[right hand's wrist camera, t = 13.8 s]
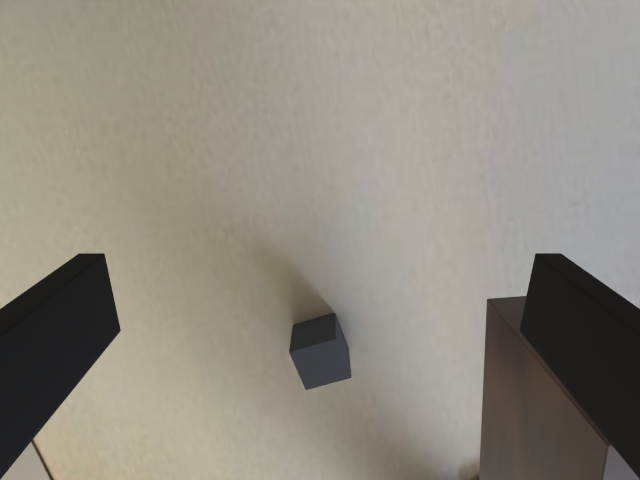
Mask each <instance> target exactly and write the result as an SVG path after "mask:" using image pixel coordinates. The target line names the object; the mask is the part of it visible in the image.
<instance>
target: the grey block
mask: <svg viewBox="0 0 640 480" xmlns="http://www.w3.org/2000/svg"><path fill="white" fill-rule="evenodd" d="M289 353H290V355H291V357H292V359H293V362H294V364H295V366H296V369H297V371H298V373H299V375H300V378H301V380H302V382H303V385H304V387H305V389H306V390H308V389H312V388H315V387H319V386H322V385H326V384H330V383H333V382H337V381H341V380H344V379H348V378H351V368H350V357H349V348H348V346H347V343H346V340H345V338H344V335H343V332H342V330H341V327H340V324H339V322H338V319H337V316H336V314H335V313H333V314H330V315H326V316H323V317H319V318H316V319H313V320H309V321H306V322H303V323H299V324H296V325H293V329H292V336H291V343H290V350H289Z"/></svg>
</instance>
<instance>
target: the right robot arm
mask: <svg viewBox="0 0 640 480" xmlns="http://www.w3.org/2000/svg"><path fill="white" fill-rule="evenodd" d="M120 331H121V330H120V325H119V321H118V316H117V311H116V306H115V302H114V297H113V292H112V287H111V283H110V278H109V273H108V268H107V264H106V259H105V254H78V255H76V256H75V257H74V258H72V259H71V260H69V261H68V262H66V263H65V264H64V265H62V266H61V267H59V268H58V269H57V270H55V271H54V272H52V273H51V274H49V275H48V276H47V277H45V278H44V279H42V280H41V281H39V282H38V283H37V284H35V285H34V286H32V287H31V288H30V289H28V290H27V291H25V292H24V293H22V294H21V295H20V296H18V297H17V298H15V299H14V300H13V301H11V302H10V303H8V304H7V305H5V306H4V307H3V308H1V309H0V479H1V478H2V477H3V475H4V474H5V473H6V472H7V471H8V469H9V468H10V467H11V466H12V464H13V463H14V462H15V461H16V459H17V458H18V457H19V456H20V454H21V453H22V452H23V451H24V450H25V448H26V447H27V446H28V445H29V443H30V442H31V441H32V440H33V438H34V437H35V436H36V435H37V433H38V432H39V431H40V430H41V428H42V427H43V426H44V425H45V424H46V422H47V421H48V420H49V419H50V417H51V416H52V415H53V414H54V412H55V411H56V410H57V409H58V407H59V406H60V405H61V404H62V403H63V401H64V400H65V399H66V398H67V396H68V395H69V394H70V393H71V391H72V390H73V389H74V388H75V386H76V385H77V384H78V383H79V381H80V380H81V379H82V378H83V377H84V375H85V374H86V373H87V372H88V370H89V369H90V368H91V367H92V365H93V364H94V363H95V362H96V360H97V359H98V358H99V357H100V356H101V354H102V353H103V352H104V351H105V349H106V348H107V347H108V346H109V344H110V343H111V342H112V341H113V339H114V338H115V337H116V336H117V334H118V333H119V332H120ZM519 331H520V332H521V333H522V334H523V336H524V337H525V338H526V339H527V341H528V342H529V343H530V344H531V346H532V347H533V348H534V349H535V351H536V352H537V353H538V354H539V356H540V357H541V358H542V359H543V360H544V362H545V363H546V364H547V365H548V367H549V368H550V369H551V370H552V372H553V373H554V374H555V375H556V377H557V378H558V379H559V380H560V381H561V383H562V384H563V385H564V386H565V388H566V389H567V390H568V391H569V393H570V394H571V395H572V396H573V398H574V399H575V400H576V401H577V403H578V404H579V405H580V406H581V407H582V409H583V410H584V411H585V412H586V414H587V415H588V416H589V417H590V419H591V420H592V421H593V422H594V424H595V425H596V426H597V427H598V428H599V430H600V431H601V432H602V433H603V435H604V436H605V437H606V438H607V440H608V441H609V442H610V443H611V445H612V446H613V447H614V448H615V450H616V451H617V452H618V453H619V454H620V456H621V457H622V458H623V459H624V461H625V462H626V463H627V464H628V466H629V467H630V468H631V469H632V471H633V472H634V473H635V474H636V475H637V477H638V478H639V479H640V309H639V308H637V307H636V306H635V305H633V304H632V303H630V302H629V301H627V300H626V299H625V298H623V297H622V296H620V295H619V294H618V293H616V292H615V291H613V290H612V289H610V288H609V287H608V286H606V285H605V284H603V283H602V282H601V281H599V280H598V279H596V278H595V277H593V276H592V275H591V274H589V273H588V272H586V271H585V270H583V269H582V268H581V267H579V266H578V265H576V264H575V263H574V262H572V261H571V260H569V259H568V258H566V257H565V256H564V255H562V254H535V259H534V264H533V268H532V273H531V278H530V283H529V287H528V292H527V297H526V302H525V306H524V311H523V316H522V321H521V325H520V330H519Z"/></svg>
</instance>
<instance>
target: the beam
mask: <svg viewBox="0 0 640 480" xmlns="http://www.w3.org/2000/svg"><path fill="white" fill-rule="evenodd" d="M526 297H527V296H521V297H507V298H493V299H487V314H486V337H485V360H484V382H483V405H482V427H481V450H480V472H479V480H640V479H639V478H638V477H637V475H636V474H635V473H634V472H633V471H632V469H631V468H630V467H629V466H628V464H627V463H626V462H625V461H624V459H623V458H622V457H621V456H620V454H619V453H618V452H617V451H616V450H615V448H614V447H613V446H612V445H611V443H610V442H609V441H608V440H607V438H606V437H605V436H604V435H603V433H602V432H601V431H600V430H599V428H598V427H597V426H596V425H595V424H594V422H593V421H592V420H591V419H590V417H589V416H588V415H587V414H586V412H585V411H584V410H583V409H582V407H581V406H580V405H579V404H578V403H577V401H576V400H575V399H574V398H573V396H572V395H571V394H570V393H569V391H568V390H567V389H566V388H565V386H564V385H563V384H562V383H561V381H560V380H559V379H558V378H557V377H556V375H555V374H554V373H553V372H552V370H551V369H550V368H549V367H548V365H547V364H546V363H545V362H544V360H543V359H542V358H541V357H540V356H539V354H538V353H537V352H536V351H535V349H534V348H533V347H532V346H531V344H530V343H529V342H528V341H527V339H526V338H525V337H524V336H523V334H522V333H521V332H520V331H519V330H520V325H521V321H522V316H523V311H524V306H525V302H526Z"/></svg>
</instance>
